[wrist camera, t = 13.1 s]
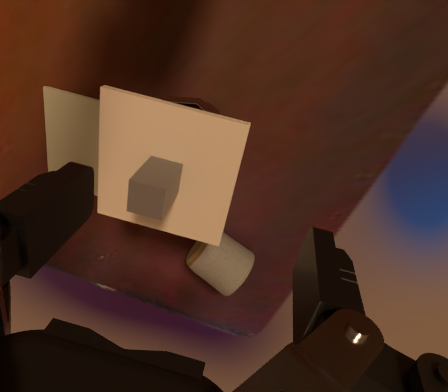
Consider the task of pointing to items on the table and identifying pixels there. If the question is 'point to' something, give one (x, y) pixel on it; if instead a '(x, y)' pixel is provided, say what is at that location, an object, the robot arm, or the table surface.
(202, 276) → the ceramic mug
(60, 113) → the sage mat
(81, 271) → the table surface
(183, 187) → the cover board
